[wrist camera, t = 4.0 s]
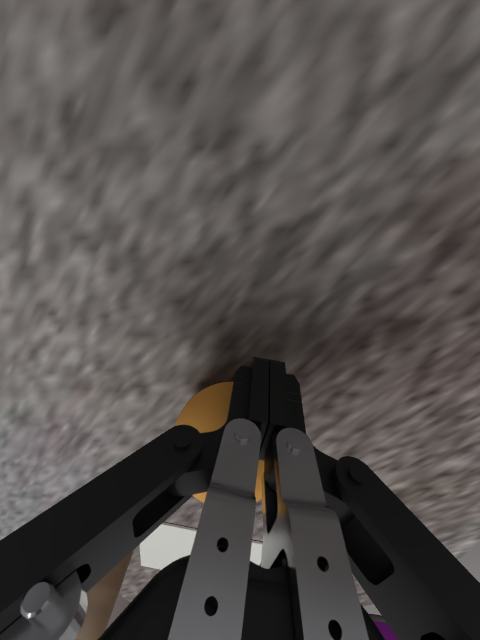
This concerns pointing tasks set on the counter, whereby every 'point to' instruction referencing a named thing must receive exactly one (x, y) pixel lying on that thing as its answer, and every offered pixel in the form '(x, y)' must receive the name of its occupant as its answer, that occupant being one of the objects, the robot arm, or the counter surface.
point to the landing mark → (177, 546)
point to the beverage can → (383, 627)
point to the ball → (213, 419)
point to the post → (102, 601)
